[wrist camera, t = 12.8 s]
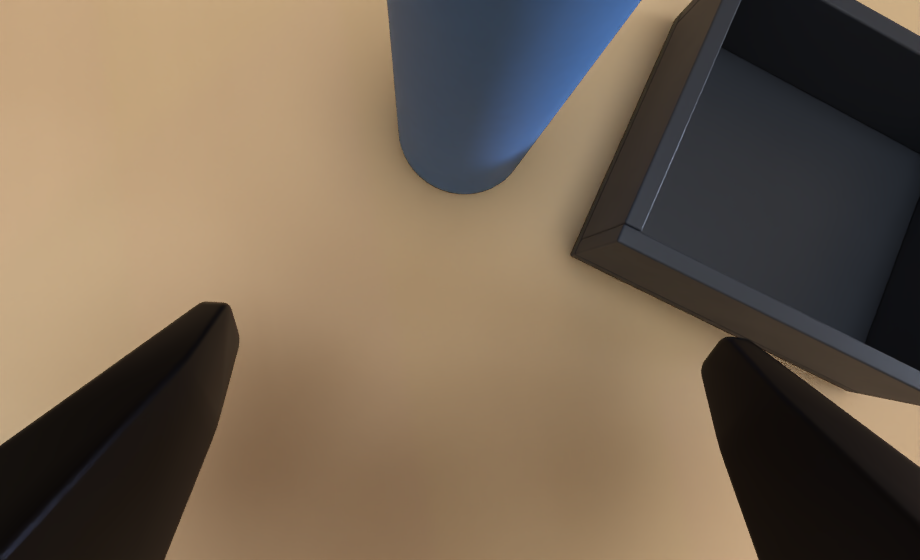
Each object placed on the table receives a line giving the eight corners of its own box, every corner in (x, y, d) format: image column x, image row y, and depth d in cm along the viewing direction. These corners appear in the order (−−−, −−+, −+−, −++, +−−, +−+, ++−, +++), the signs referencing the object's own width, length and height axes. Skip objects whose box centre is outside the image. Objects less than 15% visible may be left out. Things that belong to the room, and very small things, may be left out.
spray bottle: (521, 200, 17) (991, -249, 3) (393, 187, 17) (290, -404, 3) (529, 77, 17) (991, -827, 3) (403, 61, 17) (359, -1056, 3)
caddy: (848, 391, 18) (971, 416, 14) (569, 255, 17) (616, 241, 13) (935, 158, 19) (1072, 120, 15) (675, 18, 18) (748, -62, 14)
